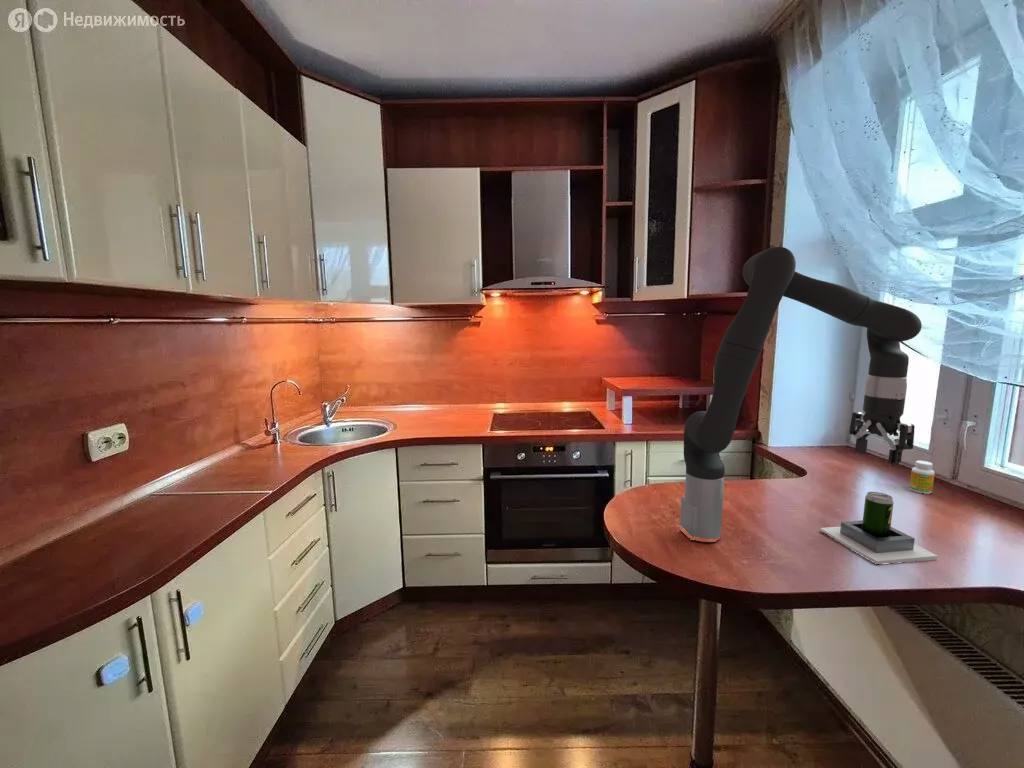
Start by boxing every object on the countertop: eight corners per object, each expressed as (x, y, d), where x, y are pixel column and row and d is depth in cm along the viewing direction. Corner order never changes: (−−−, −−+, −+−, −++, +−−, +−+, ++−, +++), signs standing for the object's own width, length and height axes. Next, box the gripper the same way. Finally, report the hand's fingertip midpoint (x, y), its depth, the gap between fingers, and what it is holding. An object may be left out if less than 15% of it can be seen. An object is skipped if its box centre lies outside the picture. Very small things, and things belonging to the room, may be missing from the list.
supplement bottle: (916, 493, 138) (919, 464, 136) (905, 487, 143) (908, 459, 141) (936, 495, 137) (940, 465, 135) (924, 488, 142) (928, 460, 140)
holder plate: (876, 565, 100) (876, 561, 99) (819, 531, 115) (820, 528, 115) (937, 559, 101) (937, 555, 101) (873, 527, 117) (873, 523, 117)
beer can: (862, 542, 107) (867, 497, 105) (858, 533, 112) (863, 489, 110) (890, 548, 105) (896, 501, 103) (885, 538, 109) (891, 493, 107)
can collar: (876, 553, 103) (877, 541, 102) (840, 532, 112) (841, 522, 112) (913, 549, 104) (914, 538, 103) (874, 529, 114) (875, 519, 113)
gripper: (844, 389, 110) (838, 450, 113) (900, 400, 96) (890, 469, 99) (871, 389, 111) (864, 449, 113) (929, 399, 97) (920, 468, 99)
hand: (876, 458), depth 106 cm, fingers open, 8 cm apart
